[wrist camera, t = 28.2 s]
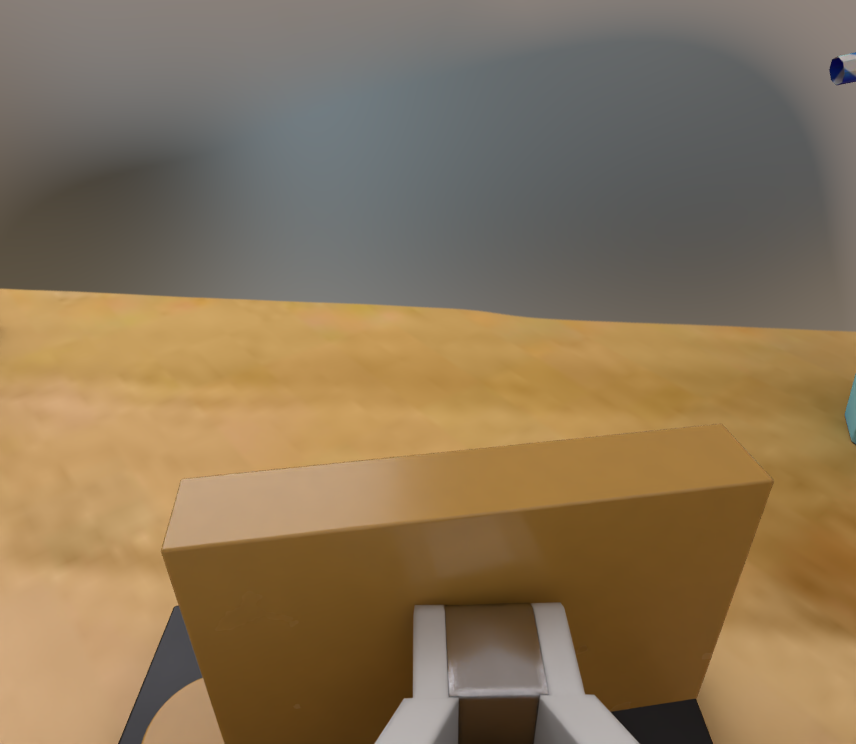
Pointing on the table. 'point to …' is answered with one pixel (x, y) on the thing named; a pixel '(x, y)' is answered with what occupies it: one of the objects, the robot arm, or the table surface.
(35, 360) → the table surface
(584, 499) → the tap lever
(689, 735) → the base
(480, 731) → the robot arm
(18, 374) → the table surface
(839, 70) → the cup
